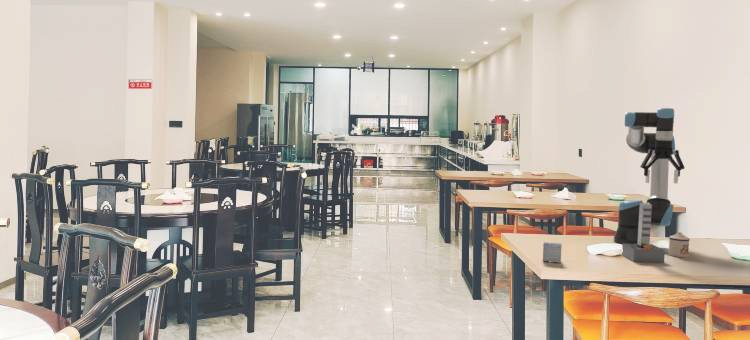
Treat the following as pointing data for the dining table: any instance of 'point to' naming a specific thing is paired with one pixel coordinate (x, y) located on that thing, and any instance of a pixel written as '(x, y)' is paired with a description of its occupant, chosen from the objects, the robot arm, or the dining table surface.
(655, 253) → the sleeve base
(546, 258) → the medicine box
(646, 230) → the column
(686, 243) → the teacup with lid
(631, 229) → the robot arm
